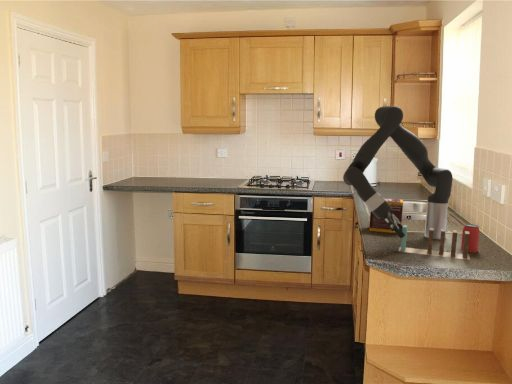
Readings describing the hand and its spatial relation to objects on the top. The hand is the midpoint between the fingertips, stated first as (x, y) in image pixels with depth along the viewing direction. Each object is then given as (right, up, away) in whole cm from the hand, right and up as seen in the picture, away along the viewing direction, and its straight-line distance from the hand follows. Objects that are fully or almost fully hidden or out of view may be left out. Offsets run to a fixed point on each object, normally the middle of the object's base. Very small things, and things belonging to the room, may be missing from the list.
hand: (404, 234), depth 208 cm
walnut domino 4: (+22, -8, -8) cm, 25 cm away
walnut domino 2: (+14, -7, -4) cm, 16 cm away
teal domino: (0, -6, +1) cm, 6 cm away
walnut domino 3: (+18, -8, -6) cm, 21 cm away
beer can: (+29, -8, +4) cm, 30 cm away
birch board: (+11, -8, -3) cm, 14 cm away
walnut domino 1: (+10, -7, -3) cm, 12 cm away
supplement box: (+3, -2, +42) cm, 43 cm away
